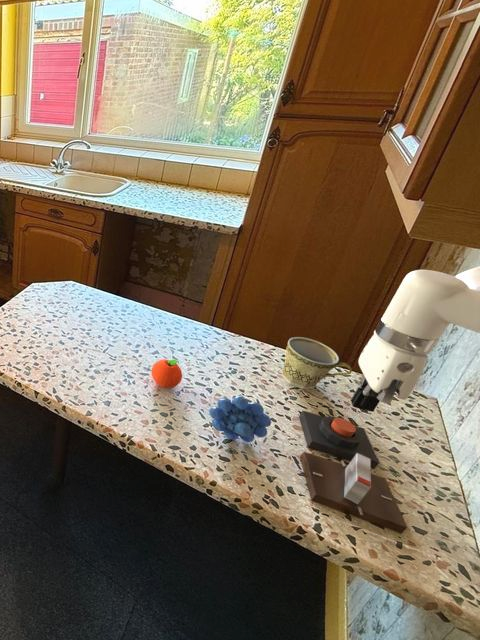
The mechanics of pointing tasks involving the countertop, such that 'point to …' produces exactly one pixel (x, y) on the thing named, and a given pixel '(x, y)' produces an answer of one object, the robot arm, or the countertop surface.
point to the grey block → (357, 478)
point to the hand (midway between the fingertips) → (361, 406)
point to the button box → (335, 439)
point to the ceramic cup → (309, 362)
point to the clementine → (166, 373)
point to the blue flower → (240, 419)
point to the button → (343, 427)
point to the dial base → (329, 491)
